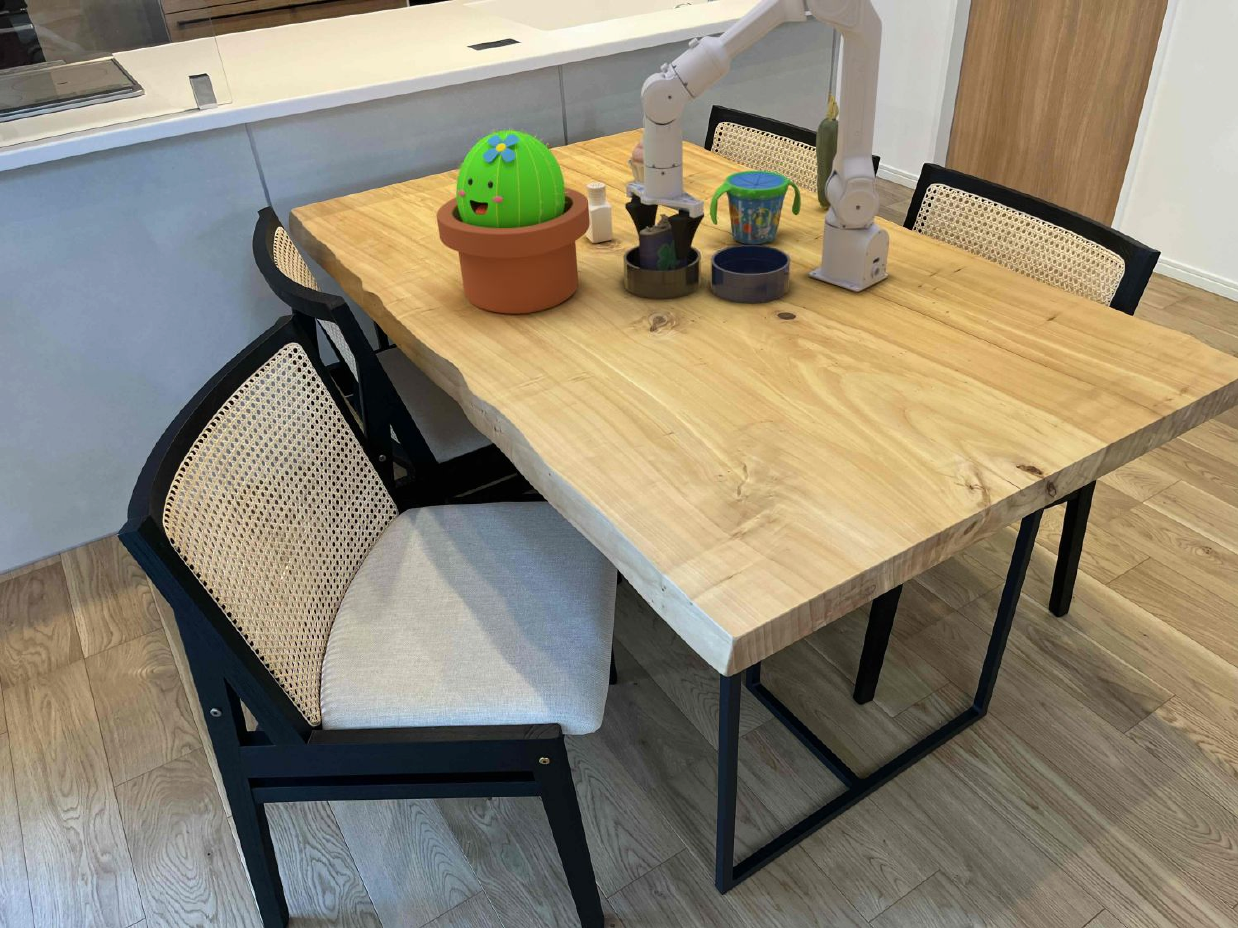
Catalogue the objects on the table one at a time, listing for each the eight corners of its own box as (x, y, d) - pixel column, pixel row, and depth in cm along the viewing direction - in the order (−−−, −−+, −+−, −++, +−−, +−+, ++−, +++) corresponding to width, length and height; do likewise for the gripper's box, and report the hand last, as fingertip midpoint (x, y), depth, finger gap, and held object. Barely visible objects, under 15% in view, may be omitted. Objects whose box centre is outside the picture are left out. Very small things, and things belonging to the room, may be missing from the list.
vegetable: (835, 214, 168) (845, 98, 157) (810, 213, 169) (819, 98, 158) (835, 206, 172) (845, 92, 161) (811, 205, 173) (819, 92, 162)
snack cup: (789, 224, 165) (793, 166, 160) (807, 245, 157) (812, 185, 151) (703, 231, 164) (703, 174, 158) (716, 253, 155) (717, 193, 150)
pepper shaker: (614, 240, 162) (611, 186, 157) (592, 244, 161) (589, 190, 156) (605, 233, 165) (602, 180, 160) (584, 237, 164) (581, 183, 159)
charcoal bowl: (716, 282, 146) (716, 254, 143) (661, 306, 139) (660, 278, 137) (663, 262, 153) (662, 236, 151) (608, 284, 147) (607, 257, 144)
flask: (679, 270, 150) (678, 205, 143) (692, 275, 148) (692, 209, 142) (636, 287, 145) (634, 220, 139) (649, 293, 143) (647, 225, 137)
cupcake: (683, 180, 188) (682, 129, 183) (660, 194, 182) (659, 142, 176) (643, 174, 193) (642, 125, 187) (619, 188, 186) (617, 136, 181)
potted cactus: (507, 256, 159) (489, 103, 144) (618, 277, 149) (610, 115, 135) (422, 305, 143) (393, 139, 129) (539, 333, 133) (521, 157, 119)
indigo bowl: (804, 286, 143) (806, 258, 141) (752, 310, 137) (754, 281, 134) (746, 265, 151) (747, 239, 148) (694, 288, 144) (694, 260, 142)
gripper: (609, 160, 138) (614, 247, 146) (679, 179, 129) (679, 272, 137) (644, 149, 142) (646, 235, 150) (714, 167, 133) (712, 258, 140)
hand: (664, 252), depth 143 cm, fingers open, 7 cm apart
